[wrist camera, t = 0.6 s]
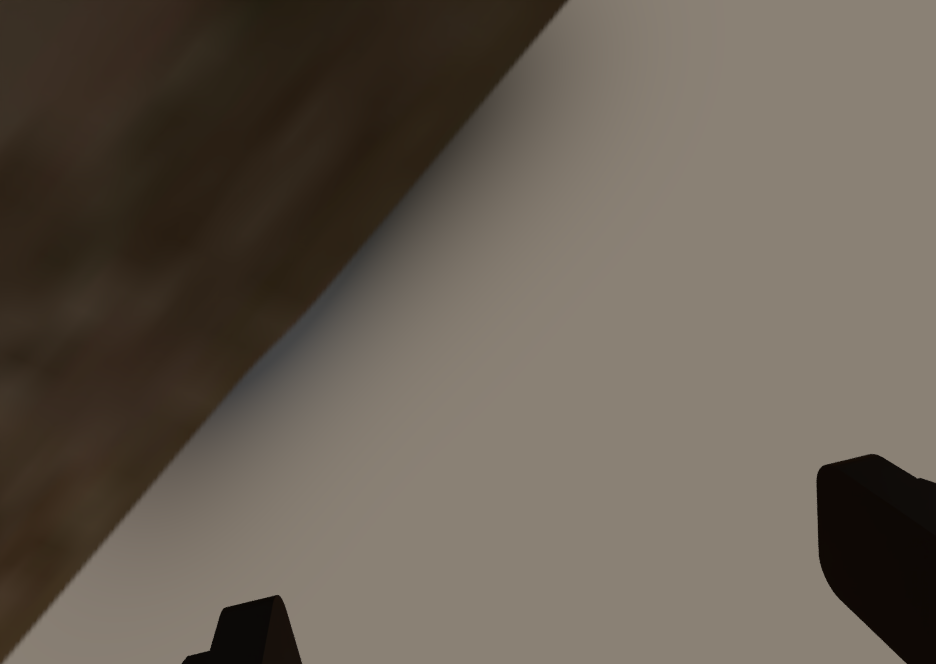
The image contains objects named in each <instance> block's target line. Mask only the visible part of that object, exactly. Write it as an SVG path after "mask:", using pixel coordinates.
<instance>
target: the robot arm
mask: <svg viewBox="0 0 936 664" xmlns="http://www.w3.org/2000/svg"><path fill="white" fill-rule="evenodd" d="M817 515H818V545H819V546H818V547H819V559H820V564H821V568H822V571H823V573H824V576H825V578H826V580H827V582H828V584H829V586H830V587H831V589H832V590H833V592H834V593H835V594H836V596H837V597H838V598H839V599H840V600H841V601H842V602H843V603H844V604H845V605H846V606H847V607H848V608H849V609H850V610H852V612H854V613H855V614H856V615H857V616H858V617H859V618H860V619H861V620H862V621H863V622H864V623H865V624H866V625H867V626H868V627H869V628H870V629H871V630H872V631H873V632H874V633H875V634H877V636H879V637H880V638H881V639H882V640H883V641H884V642H885V643H886V644H887V645H888V646H889V647H890V648H891V649H892V650H893V651H894V652H895V653H896V654H897V655H898V656H899V657H900V658H902V660H903V661H905V662H906V663H907V664H936V483H934V482H931V481H928V480H925V479H922V478H918V479H917V478H916V477H914V476H912V475H911V474H909V473H907V472H906V471H904V470H902V469H901V468H899V467H897V466H896V465H894V464H893V463H891V462H889V461H888V460H886V459H884V458H883V457H881V456H879V455H875V454H869V455H865V456H861V457H856V458H852V459H848V460H844V461H840V462H835V463H831V464H827V465H824V466H822V467H821V468H820V469H819V471H818V474H817ZM182 664H302V662H301V658H300V655H299V651H298V648H297V645H296V641H295V638H294V634H293V631H292V628H291V624H290V621H289V617H288V614H287V611H286V608H285V605H284V602H283V600H282V598H281V597H280V596H279V595H275V596H271V597H267V598H263V599H259V600H255V601H250V602H246V603H242V604H238V605H234V606H230V607H226V608H224V609H223V610H222V612H221V614H220V617H219V621H218V624H217V628H216V631H215V634H214V638H213V641H212V645H211V648H210V651H207V652H203V653H199V654H195V655H191V656H187V657H186V659H185V660H184V661H183V663H182Z"/></svg>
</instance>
